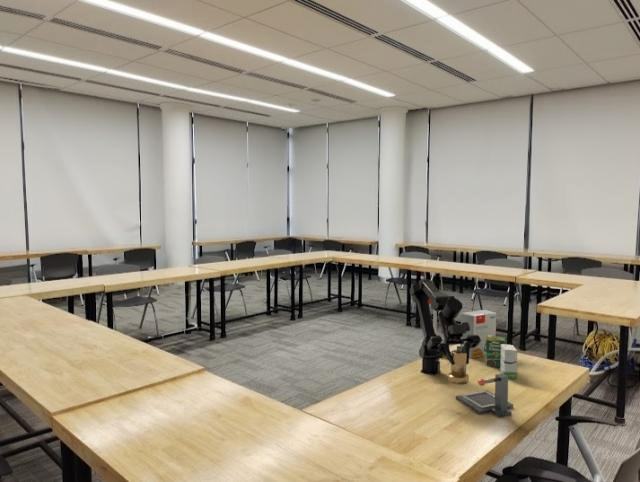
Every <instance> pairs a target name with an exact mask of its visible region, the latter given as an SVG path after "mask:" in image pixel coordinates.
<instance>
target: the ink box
mask: <svg viewBox="0 0 640 482" xmlns="http://www.w3.org/2000/svg"><path fill="white" fill-rule="evenodd" d="M499 369H500V374H501V373H502V374H505V375H507V376H508V380H509V379H511V380H512V379H513V380H517V378H518V376H517V374H518V350H517V349H516V347H515V346H514V345H513V344H507V343H506V344H501V364H500V367H499Z"/></svg>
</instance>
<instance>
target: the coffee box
mask: <svg viewBox="0 0 640 482" xmlns="http://www.w3.org/2000/svg"><path fill="white" fill-rule="evenodd" d="M501 344H506V345H507V337H506V336H498V335H497V336H490V335H487V336H486V356H485V360H486V362H485V364H486V365H485V366H489V367H495V368H500V364H501Z"/></svg>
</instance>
